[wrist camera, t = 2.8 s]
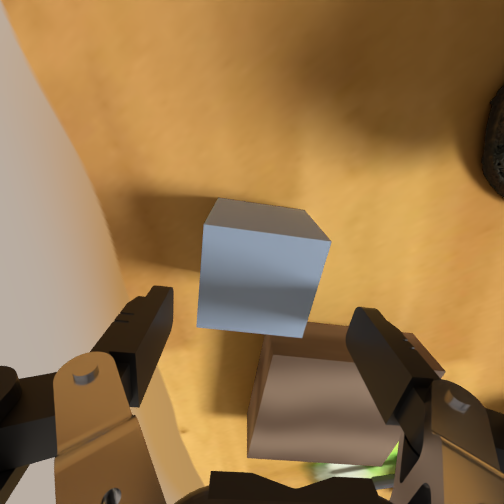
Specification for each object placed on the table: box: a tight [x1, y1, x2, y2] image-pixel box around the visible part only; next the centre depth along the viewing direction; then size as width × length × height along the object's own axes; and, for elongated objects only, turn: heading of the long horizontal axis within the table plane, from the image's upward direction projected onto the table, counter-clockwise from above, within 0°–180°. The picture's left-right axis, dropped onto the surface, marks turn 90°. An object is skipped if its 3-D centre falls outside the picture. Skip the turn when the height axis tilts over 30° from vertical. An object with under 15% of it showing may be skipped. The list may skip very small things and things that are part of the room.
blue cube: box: [197, 198, 331, 338], centre depth 14 cm, size 6×6×6 cm
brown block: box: [247, 322, 446, 466], centre depth 20 cm, size 12×12×4 cm
